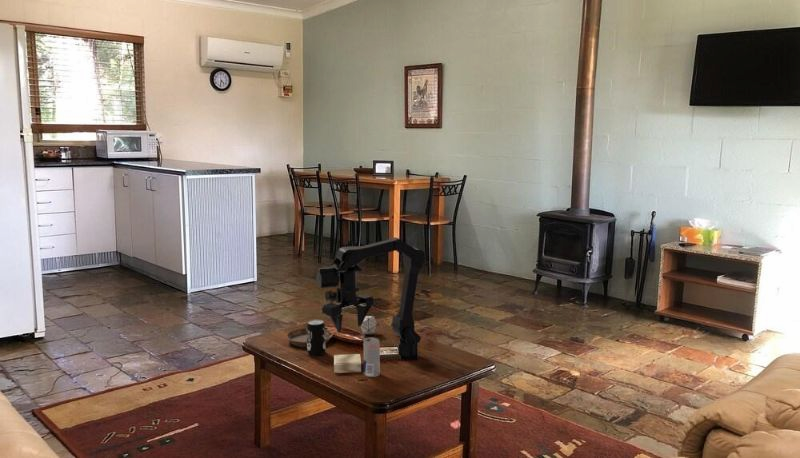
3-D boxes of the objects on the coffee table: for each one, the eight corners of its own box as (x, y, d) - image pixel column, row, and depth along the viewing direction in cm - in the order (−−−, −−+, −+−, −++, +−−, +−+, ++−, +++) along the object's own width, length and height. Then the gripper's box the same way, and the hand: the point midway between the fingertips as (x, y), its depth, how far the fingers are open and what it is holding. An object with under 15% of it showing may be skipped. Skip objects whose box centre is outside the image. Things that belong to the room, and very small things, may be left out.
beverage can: (322, 357, 225) (321, 325, 223) (304, 356, 226) (303, 324, 224) (327, 351, 231) (327, 319, 229) (311, 349, 233) (310, 318, 231)
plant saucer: (312, 331, 255) (311, 324, 254) (342, 340, 243) (342, 333, 243) (277, 342, 241) (276, 335, 241) (307, 353, 230) (307, 345, 230)
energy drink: (371, 370, 213) (370, 336, 211) (383, 373, 209) (382, 339, 208) (360, 374, 209) (360, 340, 207) (372, 378, 205) (372, 343, 203)
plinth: (360, 362, 220) (359, 353, 219) (361, 371, 211) (360, 362, 211) (334, 363, 219) (334, 354, 219) (334, 373, 210) (334, 364, 210)
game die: (371, 342, 252) (384, 320, 254) (371, 341, 243) (384, 319, 245) (352, 330, 252) (365, 309, 254) (352, 329, 244) (365, 307, 246)
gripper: (353, 275, 223) (354, 318, 226) (311, 286, 210) (313, 330, 213) (374, 281, 215) (375, 324, 218) (331, 291, 203) (333, 338, 205)
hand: (349, 329), depth 214 cm, fingers open, 9 cm apart
